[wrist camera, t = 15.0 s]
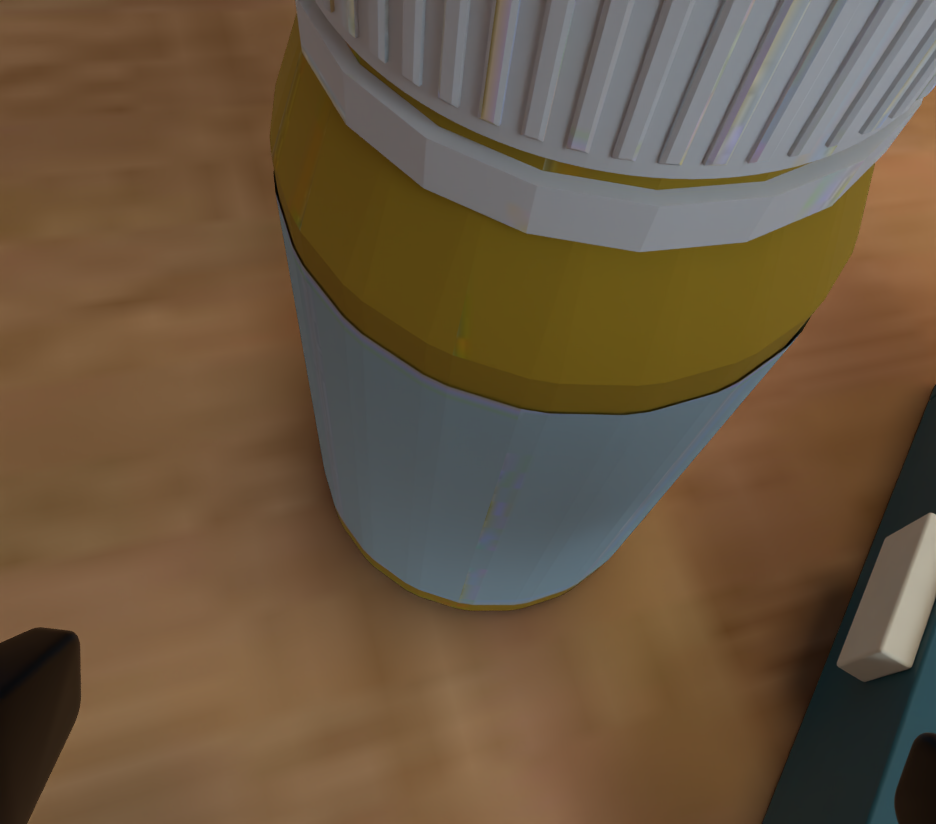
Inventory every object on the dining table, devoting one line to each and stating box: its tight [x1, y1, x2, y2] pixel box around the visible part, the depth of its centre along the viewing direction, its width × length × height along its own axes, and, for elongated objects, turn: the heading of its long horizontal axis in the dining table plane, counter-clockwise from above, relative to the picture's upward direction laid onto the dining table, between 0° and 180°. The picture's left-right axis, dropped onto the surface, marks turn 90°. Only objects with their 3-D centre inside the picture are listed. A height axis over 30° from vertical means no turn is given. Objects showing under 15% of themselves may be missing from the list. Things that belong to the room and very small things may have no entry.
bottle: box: [270, 0, 936, 611], centre depth 12 cm, size 7×7×15 cm
